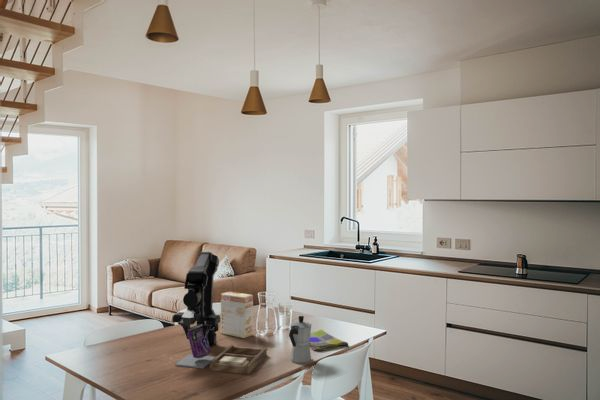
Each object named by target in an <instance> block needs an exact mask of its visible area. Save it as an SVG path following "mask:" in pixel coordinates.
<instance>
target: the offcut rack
mask: <svg viewBox="0 0 600 400" xmlns="http://www.w3.org/2000/svg"><path fill="white" fill-rule="evenodd" d="M267 352H268V351H267V347H263V348H258V347H256V348H255V347H247V346H246V347H245V346H234V344H230V345H229V346H228V347H226V348H225V349H224V350H223V351H221V353H219V354H218V355H216V356H215V357H216V358H214V359H213V360H212V361H211V362H210V363H209V371H215V372H224V373H233V374H243V375H250V373H252V372H253V370H255V369H256V367H257V366H258V365H259V364H260V363H261V362H262V361H263V360H264V359H265V357H266V356H267ZM224 356H230V357H242V358H247V361H249V363H248V364H247V365H246V366H238V365H228V364H219V360H221V359H222V358H223V357H224Z"/></svg>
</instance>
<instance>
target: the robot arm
mask: <svg viewBox="0 0 600 400" xmlns="http://www.w3.org/2000/svg"><path fill="white" fill-rule="evenodd" d="M219 266H220V259H219V257H218V256H217V255H215V254H213V253H212V252H210V251H202V252H200V253H199V256H198V259H197V262H196V264H195V266H193V267H191V268H190V269H189V270H188V272H187V273H186V276H185V282H184V286H183V287H184V288H183V289H184V290H187V293H185V294H184V295H183V298H182V302H183V304H184V306H186V310H185V311H184V312H181V311H178V312H177V313H175V314H173V315H172V316H171V321H172V323H177V325H180V326H181V327H182V328H183V331H184V335H185V336H186V340H189V338H188V329H189V328H190V327H191V326H192V325H193V326H194V324H195V323H196V325H201V324H202V326H203V334H204V336H205V337H206V336H207V338H208V342H209V346H210V348H211V347H213V346H214V345H215V344H217V343H218V341H217V332H218V331H219V323H221V315H219V314H216V312H215V311H214V309H213V299H214V277H215V274H216V273H217V272H218V267H219Z"/></svg>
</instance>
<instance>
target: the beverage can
mask: <svg viewBox="0 0 600 400" xmlns="http://www.w3.org/2000/svg"><path fill="white" fill-rule="evenodd" d="M188 338H189V339H188V342H189V345H190V349H191V353H192V355H193V357H194V358H203V357H205V356H209V354H210V353H211V352H212V351H211V347H210V346H209V342H208V338H207V336H206V337H205V336H204V334H203V326H202V324H201V325H197V324H196V325H193V326H190V328H189V329H188Z"/></svg>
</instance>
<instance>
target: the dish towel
mask: <svg viewBox="0 0 600 400" xmlns="http://www.w3.org/2000/svg"><path fill="white" fill-rule="evenodd" d="M308 343H309V347H310V350H312V351H317V352H318V351H324V350H332V349H340V348H346V347H349V343H348V342H347V341H344V340H341V339H338V338H337V337H334V336H333V335H331V334H329V333H328V332H326V331H325V330H323V329H319V330H316V331H314V332H310V340H309V342H308Z"/></svg>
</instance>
